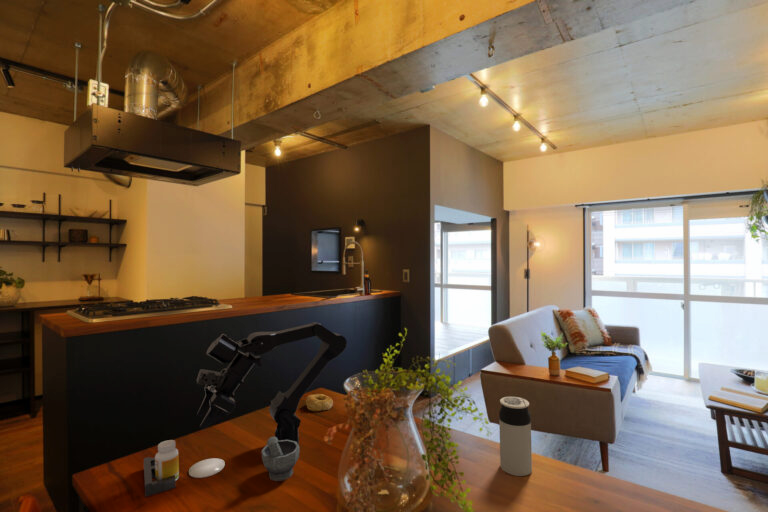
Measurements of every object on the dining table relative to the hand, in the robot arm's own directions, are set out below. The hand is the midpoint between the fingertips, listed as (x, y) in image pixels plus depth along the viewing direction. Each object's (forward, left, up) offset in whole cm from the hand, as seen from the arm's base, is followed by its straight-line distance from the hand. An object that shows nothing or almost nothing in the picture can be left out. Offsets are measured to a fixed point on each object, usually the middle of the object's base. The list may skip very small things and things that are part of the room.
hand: (199, 421), depth 104 cm
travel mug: (-84, +20, -13) cm, 87 cm away
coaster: (-2, 0, -13) cm, 13 cm away
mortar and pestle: (-22, +9, -13) cm, 27 cm away
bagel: (-33, -36, -13) cm, 51 cm away
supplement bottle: (+7, +4, -13) cm, 15 cm away
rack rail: (+10, +3, -13) cm, 16 cm away
